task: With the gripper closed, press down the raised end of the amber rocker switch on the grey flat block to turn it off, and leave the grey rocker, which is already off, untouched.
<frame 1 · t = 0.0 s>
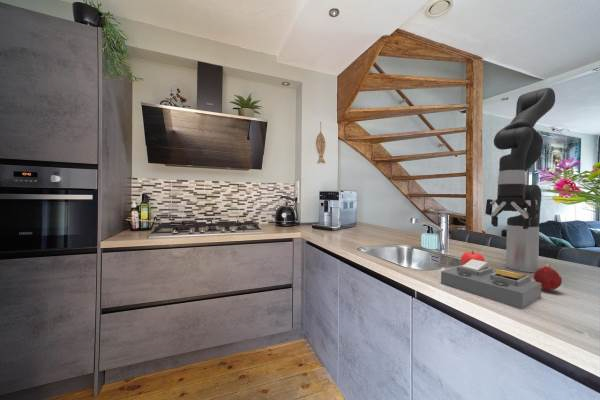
hand: (509, 227, 85), 17 cm above the worktop, tool pointing down, fingers open, 8 cm apart
amber rocker: (510, 273, 68), point 6 cm above the worktop, hinge at -12.0°
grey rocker: (474, 265, 76), point 6 cm above the worktop, hinge at 12.0°
grey flat block: (487, 289, 71), on the worktop
onion: (547, 291, 71), on the worktop
apple: (472, 272, 89), on the worktop
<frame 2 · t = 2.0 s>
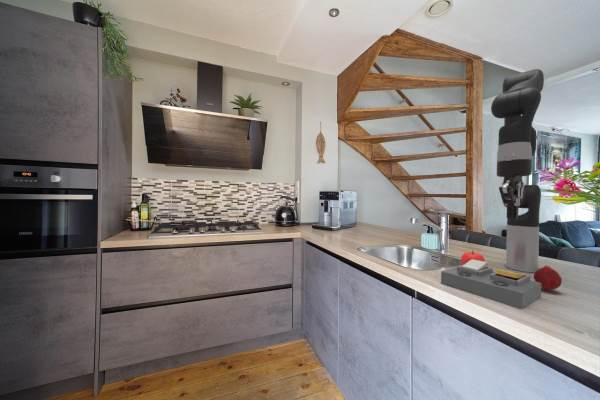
hand: (512, 218, 68), 22 cm above the worktop, tool pointing down, fingers closed
nothing on the worktop moved.
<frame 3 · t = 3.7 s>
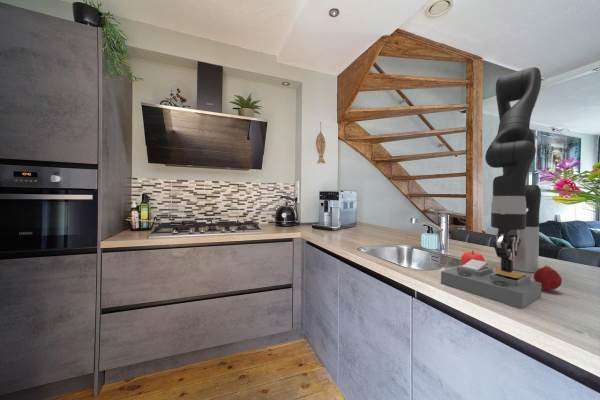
hand: (506, 271, 67), 7 cm above the worktop, tool pointing down, fingers closed
amber rocker: (510, 273, 68), point 6 cm above the worktop, hinge at -12.0°, touching gripper
everything else where it was.
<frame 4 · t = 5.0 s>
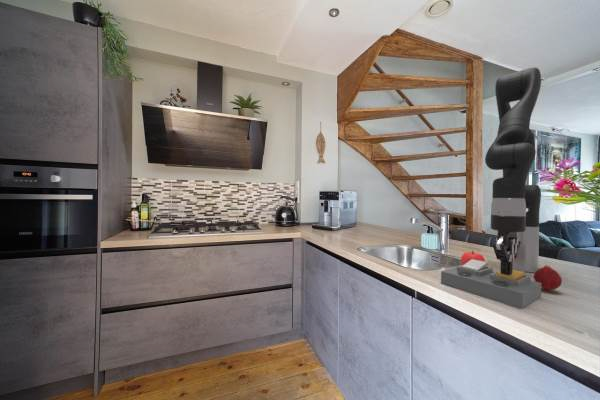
hand: (506, 274, 67), 6 cm above the worktop, tool pointing down, fingers closed
amber rocker: (510, 273, 68), point 6 cm above the worktop, hinge at 1.0°, touching gripper
everything else where it was.
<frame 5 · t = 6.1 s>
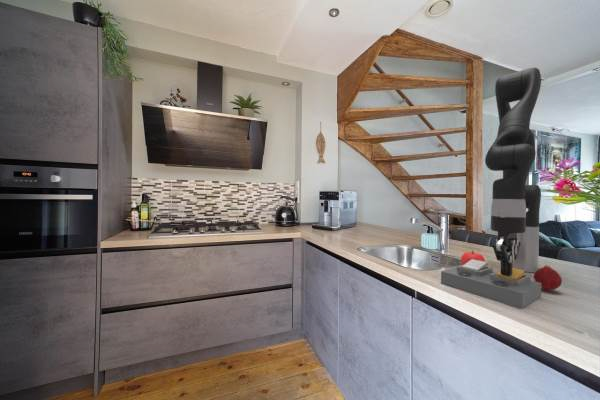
hand: (506, 275, 67), 6 cm above the worktop, tool pointing down, fingers closed
amber rocker: (510, 273, 68), point 6 cm above the worktop, hinge at 8.9°, touching gripper
everything else where it was.
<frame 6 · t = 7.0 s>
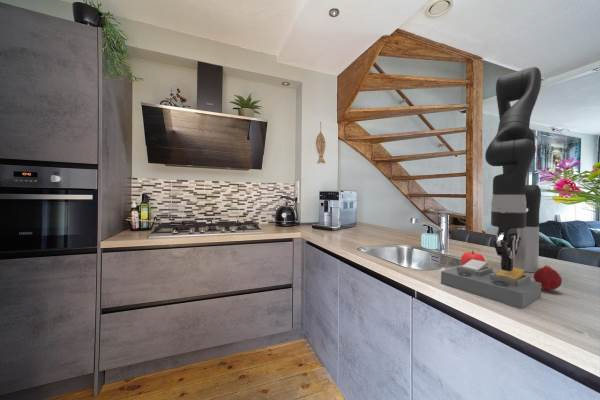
hand: (506, 270, 67), 7 cm above the worktop, tool pointing down, fingers closed
amber rocker: (510, 273, 68), point 6 cm above the worktop, hinge at 12.6°
everything else where it was.
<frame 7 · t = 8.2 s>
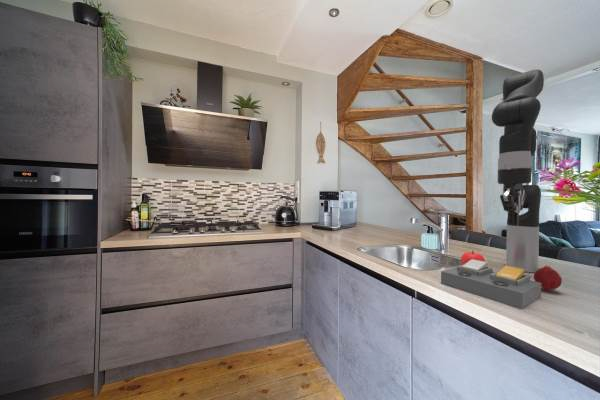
hand: (513, 224, 71), 20 cm above the worktop, tool pointing down, fingers closed
amber rocker: (510, 273, 68), point 6 cm above the worktop, hinge at 15.4°
everything else where it was.
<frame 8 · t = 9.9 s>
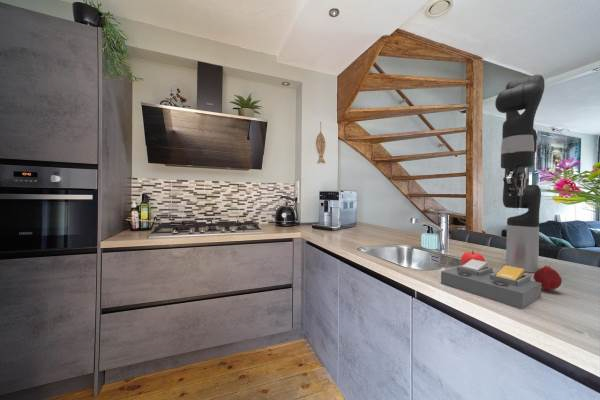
hand: (515, 208, 72), 25 cm above the worktop, tool pointing down, fingers closed
amber rocker: (510, 273, 68), point 6 cm above the worktop, hinge at 17.3°
everything else where it was.
at the end: amber rocker at +17° (first picture: -12°); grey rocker at +12° (first picture: +12°); onion moved 0.2 cm from its start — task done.
